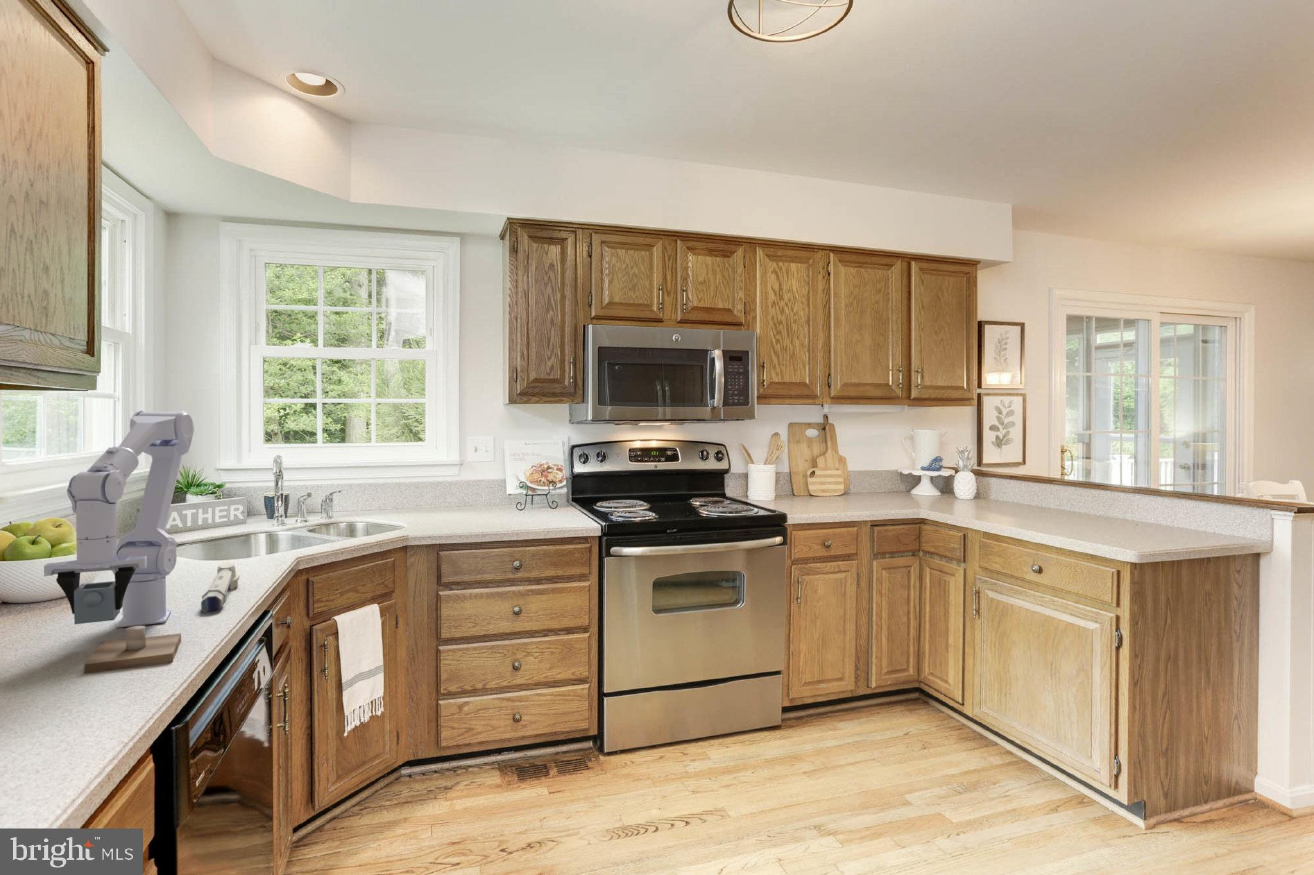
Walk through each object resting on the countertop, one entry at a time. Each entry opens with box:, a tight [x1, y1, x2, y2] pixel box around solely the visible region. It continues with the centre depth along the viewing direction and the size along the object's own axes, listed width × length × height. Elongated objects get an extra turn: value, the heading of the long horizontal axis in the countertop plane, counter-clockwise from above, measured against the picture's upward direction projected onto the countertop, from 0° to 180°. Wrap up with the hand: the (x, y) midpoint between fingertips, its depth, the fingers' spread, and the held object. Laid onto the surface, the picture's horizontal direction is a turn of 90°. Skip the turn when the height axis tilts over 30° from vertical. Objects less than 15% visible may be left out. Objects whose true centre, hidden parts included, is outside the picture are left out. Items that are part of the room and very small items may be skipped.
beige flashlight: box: [200, 562, 240, 613], centre depth 160 cm, size 5×7×25 cm
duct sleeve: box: [73, 580, 121, 625], centre depth 126 cm, size 8×6×6 cm
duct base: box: [83, 625, 182, 674], centre depth 122 cm, size 12×12×5 cm
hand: (97, 610), depth 127 cm, fingers closed on duct sleeve, 6 cm apart
